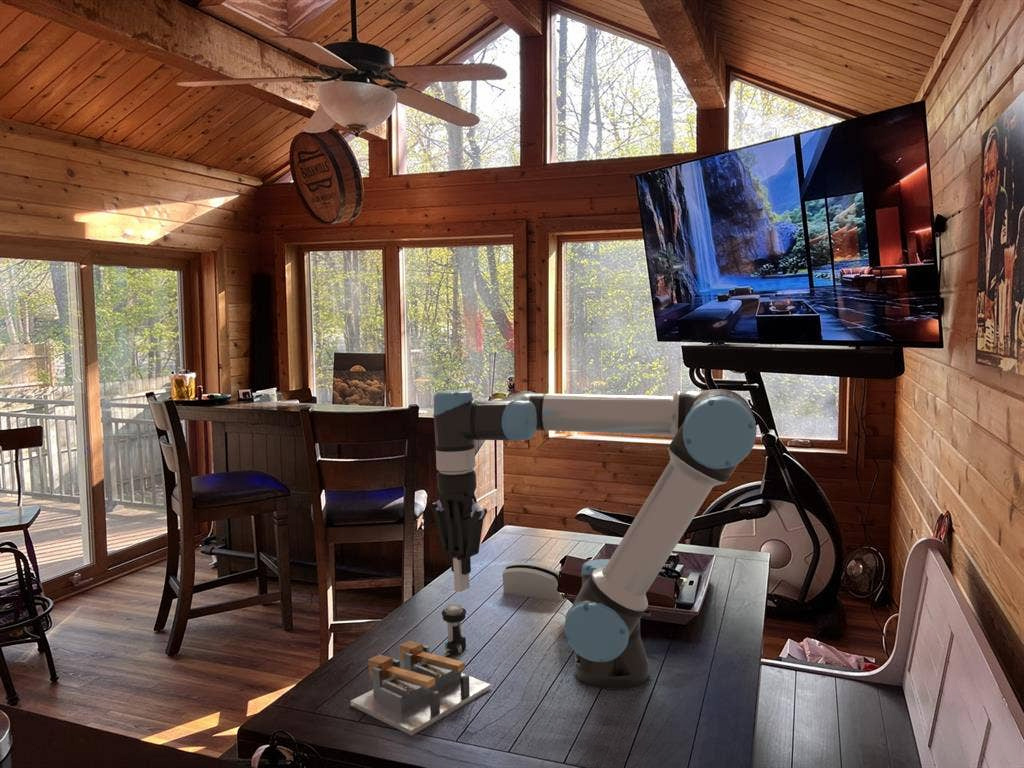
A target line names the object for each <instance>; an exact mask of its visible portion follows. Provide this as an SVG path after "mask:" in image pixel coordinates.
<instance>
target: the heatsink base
mask: <svg viewBox="0 0 1024 768" xmlns="http://www.w3.org/2000/svg"><path fill="white" fill-rule="evenodd" d="M422 644H423V652H427V653H430V646H429V645H427V644H424V643H422ZM392 658H393V666H394V667H398V668H401V660H400V659H396V658H394V657H392ZM403 669H405V670H409V671H412V672H416V673H419V674H423V675H426V676H430V677H434V678H435V685H433V686H431V687H430V688H424V687H421V686H417V685H414V684H411V683H407V682H404V681H401V680H397V679H394V678H390V681H389V680H387V679H386V680H383V672H382V669H381V668H378V667H376V666H375V667H373V668H372V672H373V677H372V689H371V690H369V691H367V692H366V693H363V694H361V695H359V696H357V697H355V698H353V699H351V700H350V706H351V707H353V708H354V709H357V710H359V711H361V712H363V713H365V714H367V715H369V716H371V717H372V718H375V719H377V720H378V721H381V722H384V723H385V724H387V725H389V726H391V727H393V728H394V729H397V730H399V731H401V732H403V733H405V734H407V735H408V736H411V737H412V736H414V735H416V734H417V733H419V732H422V730H424V729H426V728H427V727H430V726H431V725H432V724H435V723H436V722H437V721H440V720H441V719H443V718H444V717H446V716H448V715H450V714H452V713H453V712H454V711H456V710H458V709H460V708H461V707H463V706H465V705H467V704H468V703H470V702H471V701H473V700H475V699H476V698H478V697H480V696H481V695H484V694H485V693H487V692H488V691H490V690H492V688H491V687H492V686H491V684H490V683H488V682H485V681H483V680H481V679H478V678H475V677H472V676H470V675H469V674H467V673H466V674H465V673H463V672H462V670H461V671H460V672H456V671H452V670H448V669H444V668H441V667H437V666H433V665H430V664H426V663H422V662H420V663H419V664H415V665H414V657H413V654H411V653H409V652H405V653H404V662H403Z"/></svg>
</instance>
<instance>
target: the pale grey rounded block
mask: <svg viewBox="0 0 1024 768" xmlns="http://www.w3.org/2000/svg"><path fill="white" fill-rule="evenodd" d="M559 574H560V572H559V571H558V570H556V569H554V568H552V567H550V566H546V565H543V564H538V563H535V562H534V563H533V562H513V563H509V564H508V565H507V566H505V569H504V570H503V573H502V586H503V587H502V588H503V594H508V595H509V594H510V595H516V596H521V597H522V596H523V597H527V598H528V597H530V598H537V599H543V600H548V601H555V602H562V601H563V600H564V595H563V594H560V593H559V592H558V591H557V585H558V575H559Z"/></svg>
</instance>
